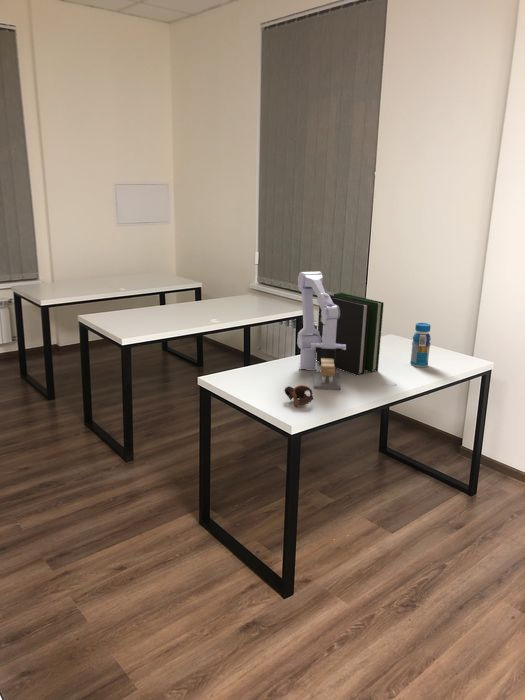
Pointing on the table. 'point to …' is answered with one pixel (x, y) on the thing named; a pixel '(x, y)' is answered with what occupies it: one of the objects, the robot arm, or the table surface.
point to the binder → (356, 333)
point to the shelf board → (327, 367)
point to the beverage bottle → (421, 345)
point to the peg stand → (326, 381)
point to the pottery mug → (299, 395)
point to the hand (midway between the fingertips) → (327, 365)
